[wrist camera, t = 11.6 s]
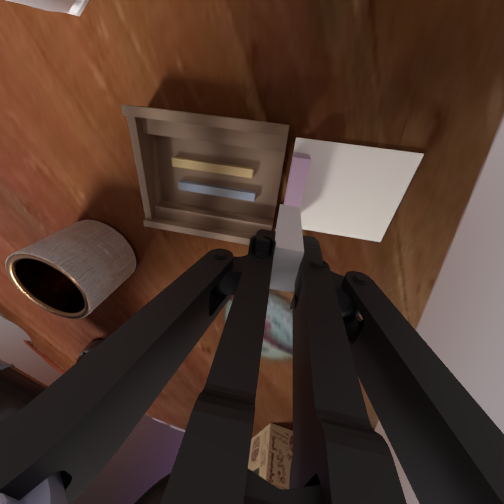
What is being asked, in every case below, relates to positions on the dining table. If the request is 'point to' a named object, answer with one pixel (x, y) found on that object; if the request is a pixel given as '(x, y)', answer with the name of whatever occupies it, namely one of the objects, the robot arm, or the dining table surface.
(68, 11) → the cup
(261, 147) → the pencil case
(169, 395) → the dining table surface
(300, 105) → the dining table surface
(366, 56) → the dining table surface
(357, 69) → the dining table surface
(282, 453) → the box
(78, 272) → the planter
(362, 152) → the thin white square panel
